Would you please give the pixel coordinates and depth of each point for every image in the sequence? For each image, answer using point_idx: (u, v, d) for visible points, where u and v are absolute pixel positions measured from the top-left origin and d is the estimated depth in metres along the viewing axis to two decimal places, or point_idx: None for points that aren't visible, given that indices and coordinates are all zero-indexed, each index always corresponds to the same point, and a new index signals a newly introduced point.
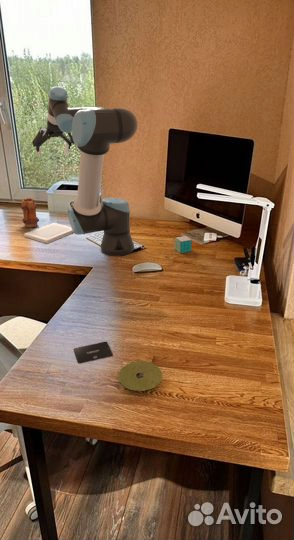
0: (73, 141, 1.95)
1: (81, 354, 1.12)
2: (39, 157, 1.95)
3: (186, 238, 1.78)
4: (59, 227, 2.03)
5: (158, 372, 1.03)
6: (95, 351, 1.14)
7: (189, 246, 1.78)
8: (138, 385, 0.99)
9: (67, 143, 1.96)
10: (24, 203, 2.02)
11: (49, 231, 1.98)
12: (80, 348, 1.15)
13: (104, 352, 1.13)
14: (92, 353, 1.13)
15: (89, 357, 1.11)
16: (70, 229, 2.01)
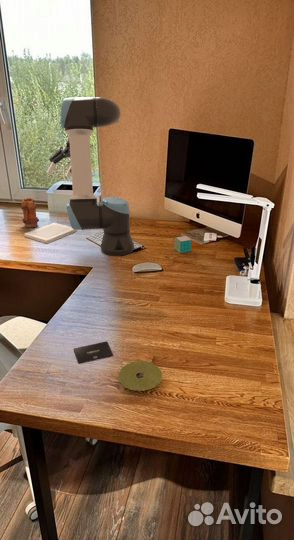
0: None
1: (81, 354, 1.12)
2: None
3: (186, 238, 1.78)
4: (59, 227, 2.03)
5: (158, 372, 1.03)
6: (95, 351, 1.14)
7: (189, 246, 1.78)
8: (138, 385, 0.99)
9: None
10: (24, 203, 2.02)
11: (49, 231, 1.98)
12: (80, 348, 1.15)
13: (104, 352, 1.13)
14: (92, 353, 1.13)
15: (89, 357, 1.11)
16: (70, 229, 2.01)
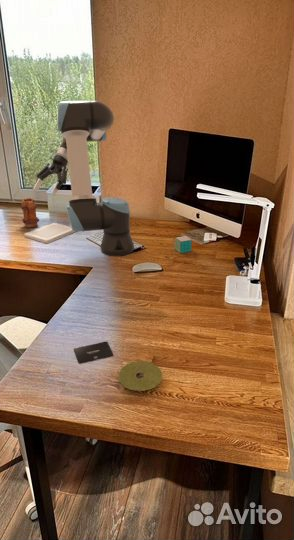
0: (62, 179, 2.05)
1: (81, 354, 1.12)
2: (33, 188, 2.11)
3: (186, 238, 1.78)
4: (59, 227, 2.03)
5: (158, 372, 1.03)
6: (95, 351, 1.14)
7: (189, 246, 1.78)
8: (138, 385, 0.99)
9: (58, 183, 2.07)
10: (24, 203, 2.02)
11: (49, 231, 1.98)
12: (80, 348, 1.15)
13: (104, 352, 1.13)
14: (93, 353, 1.13)
15: (89, 357, 1.11)
16: (70, 229, 2.01)
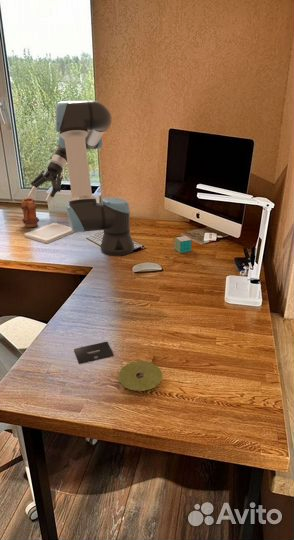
0: (57, 186, 2.04)
1: (81, 354, 1.12)
2: None
3: (186, 238, 1.78)
4: (59, 227, 2.03)
5: (158, 372, 1.03)
6: (96, 351, 1.14)
7: (189, 246, 1.78)
8: (138, 385, 0.99)
9: None
10: (24, 203, 2.02)
11: (49, 231, 1.98)
12: (81, 348, 1.15)
13: (105, 352, 1.13)
14: (93, 353, 1.13)
15: (90, 357, 1.11)
16: (70, 229, 2.01)
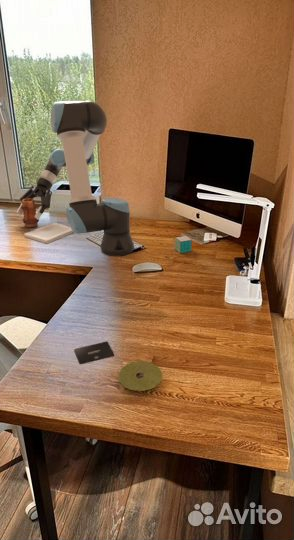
0: (46, 203, 2.00)
1: (82, 355, 1.12)
2: None
3: (186, 238, 1.78)
4: (59, 227, 2.03)
5: (158, 372, 1.03)
6: (96, 351, 1.14)
7: (189, 246, 1.78)
8: (138, 385, 0.99)
9: None
10: (24, 203, 2.02)
11: (49, 231, 1.98)
12: (81, 348, 1.15)
13: (105, 352, 1.13)
14: (93, 353, 1.13)
15: (90, 357, 1.11)
16: (70, 229, 2.01)
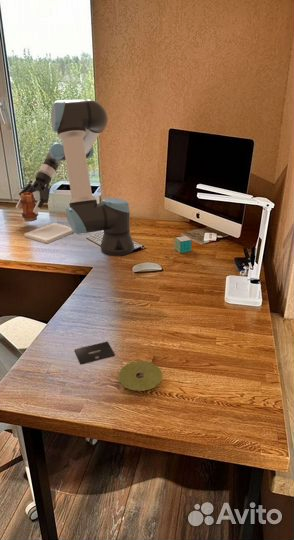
0: (44, 197, 1.98)
1: (82, 355, 1.12)
2: None
3: (186, 238, 1.78)
4: (59, 227, 2.03)
5: (158, 372, 1.03)
6: (96, 351, 1.14)
7: (189, 246, 1.78)
8: (138, 385, 0.99)
9: None
10: (23, 197, 2.01)
11: (49, 231, 1.98)
12: (81, 349, 1.15)
13: (106, 352, 1.13)
14: (94, 353, 1.13)
15: (91, 357, 1.11)
16: (70, 229, 2.01)
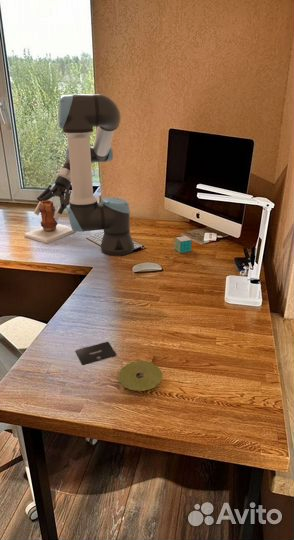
0: (65, 203, 1.90)
1: (84, 355, 1.12)
2: None
3: (186, 238, 1.78)
4: (59, 227, 2.03)
5: (158, 372, 1.03)
6: (98, 352, 1.13)
7: (189, 246, 1.78)
8: (138, 385, 0.99)
9: None
10: (42, 206, 1.92)
11: (49, 231, 1.98)
12: (82, 349, 1.14)
13: (107, 352, 1.13)
14: (95, 353, 1.13)
15: (92, 358, 1.11)
16: (70, 229, 2.01)
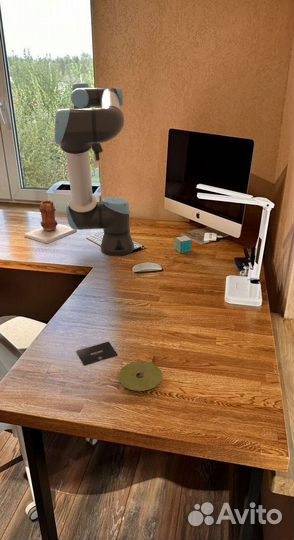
0: (97, 149, 1.85)
1: (85, 356, 1.12)
2: None
3: (186, 238, 1.78)
4: (59, 227, 2.03)
5: (158, 372, 1.03)
6: (99, 352, 1.13)
7: (189, 246, 1.78)
8: (138, 385, 0.99)
9: None
10: (42, 206, 1.92)
11: (49, 231, 1.98)
12: (83, 350, 1.14)
13: (108, 352, 1.13)
14: (96, 354, 1.13)
15: (94, 358, 1.11)
16: (70, 229, 2.01)
